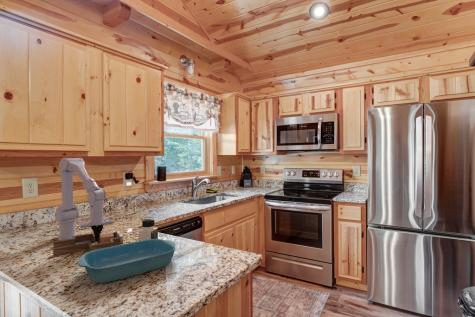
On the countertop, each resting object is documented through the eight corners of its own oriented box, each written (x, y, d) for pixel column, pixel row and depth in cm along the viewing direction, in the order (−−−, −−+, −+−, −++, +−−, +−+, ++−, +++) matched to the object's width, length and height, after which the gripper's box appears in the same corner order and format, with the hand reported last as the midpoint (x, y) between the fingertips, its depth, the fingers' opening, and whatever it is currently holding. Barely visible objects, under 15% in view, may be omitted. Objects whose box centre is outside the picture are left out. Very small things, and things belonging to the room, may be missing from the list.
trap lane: (53, 244, 130) (53, 238, 130) (116, 234, 146) (116, 228, 146) (52, 259, 111) (52, 251, 111) (125, 245, 128) (125, 238, 128)
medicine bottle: (151, 245, 128) (150, 221, 128) (138, 244, 130) (138, 220, 130) (158, 241, 135) (158, 218, 135) (145, 240, 137) (145, 217, 137)
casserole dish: (162, 249, 124) (162, 234, 124) (185, 264, 107) (185, 246, 107) (72, 272, 100) (72, 253, 100) (83, 295, 83) (83, 273, 83)
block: (99, 242, 134) (99, 234, 134) (112, 240, 137) (112, 232, 137) (100, 245, 129) (100, 237, 129) (113, 243, 132) (113, 235, 132)
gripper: (80, 217, 123) (80, 245, 123) (113, 213, 132) (114, 239, 132) (79, 214, 129) (80, 241, 129) (111, 210, 137) (111, 236, 137)
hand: (97, 240), depth 131 cm, fingers closed
